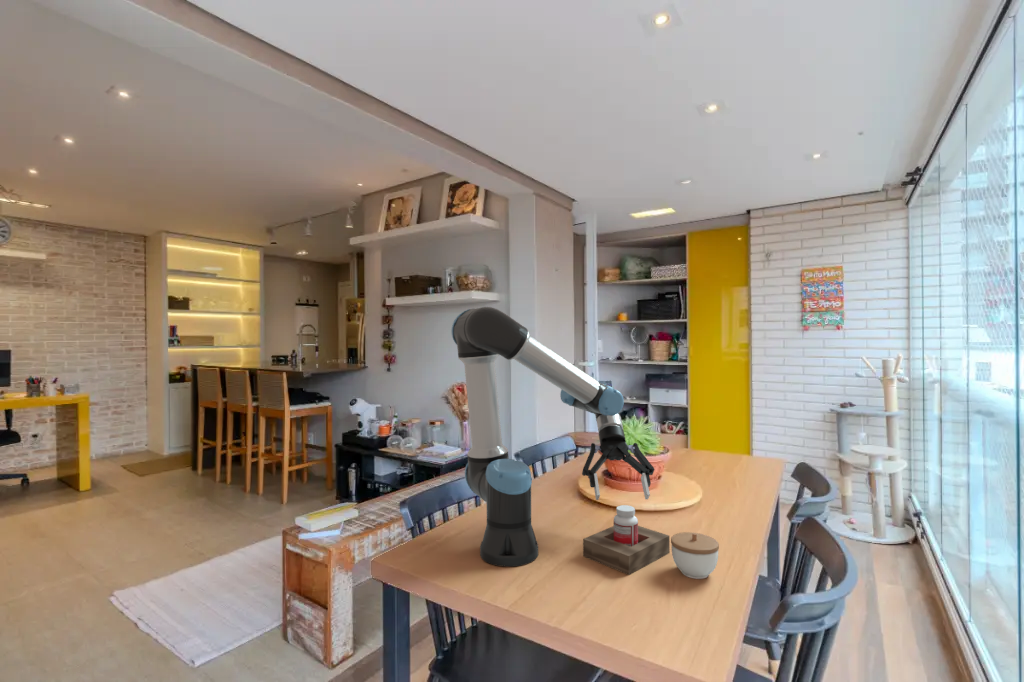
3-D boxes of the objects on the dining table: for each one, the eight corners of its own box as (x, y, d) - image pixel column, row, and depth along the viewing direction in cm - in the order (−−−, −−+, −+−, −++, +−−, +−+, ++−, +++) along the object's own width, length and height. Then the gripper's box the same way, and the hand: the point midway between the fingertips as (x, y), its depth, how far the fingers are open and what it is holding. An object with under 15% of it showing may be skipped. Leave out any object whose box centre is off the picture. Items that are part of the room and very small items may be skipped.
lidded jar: (714, 588, 113) (713, 546, 113) (665, 576, 119) (665, 536, 119) (722, 569, 122) (722, 530, 122) (677, 559, 128) (677, 522, 128)
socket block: (629, 575, 120) (628, 556, 120) (583, 556, 130) (583, 538, 130) (669, 552, 132) (669, 535, 132) (624, 537, 142) (624, 521, 142)
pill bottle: (629, 544, 135) (629, 502, 135) (642, 553, 129) (642, 510, 129) (609, 547, 133) (609, 505, 133) (621, 557, 127) (621, 513, 127)
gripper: (649, 438, 155) (665, 503, 141) (568, 438, 155) (575, 504, 140) (654, 424, 150) (671, 490, 135) (570, 424, 149) (578, 491, 135)
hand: (622, 497), depth 138 cm, fingers open, 13 cm apart
